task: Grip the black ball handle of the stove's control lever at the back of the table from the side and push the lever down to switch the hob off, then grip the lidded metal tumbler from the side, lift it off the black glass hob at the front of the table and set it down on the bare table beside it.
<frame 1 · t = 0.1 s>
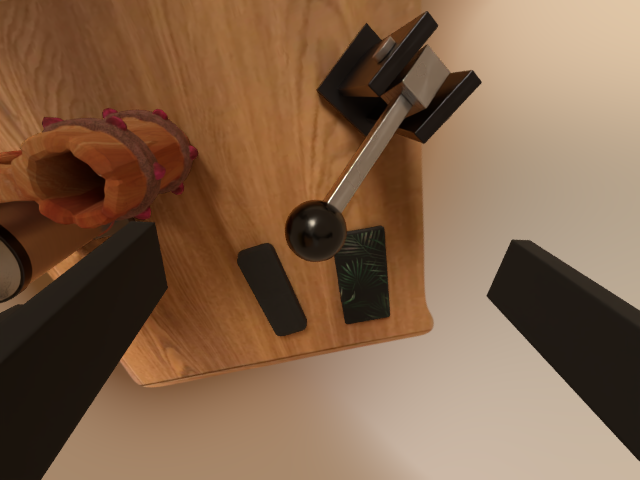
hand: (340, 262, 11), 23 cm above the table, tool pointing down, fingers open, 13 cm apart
mug: (137, 148, 30), on the table
remote control: (275, 289, 40), on the table
lever: (364, 158, 17), point 15 cm above the table, hinge at 25.0°
smartphone: (361, 275, 40), on the table
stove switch: (367, 88, 29), on the table
lidded metal tumbler: (74, 203, 31), point 1 cm above the table, touching hob
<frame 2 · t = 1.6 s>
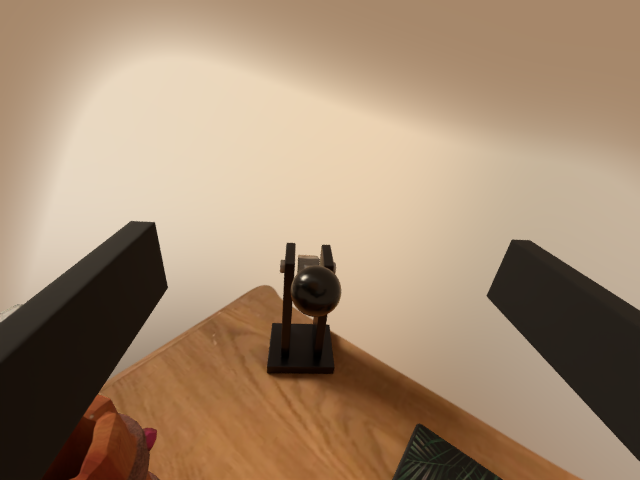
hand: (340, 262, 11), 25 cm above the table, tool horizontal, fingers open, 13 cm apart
lever: (311, 277, 25), point 15 cm above the table, hinge at 25.0°
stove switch: (300, 350, 37), on the table
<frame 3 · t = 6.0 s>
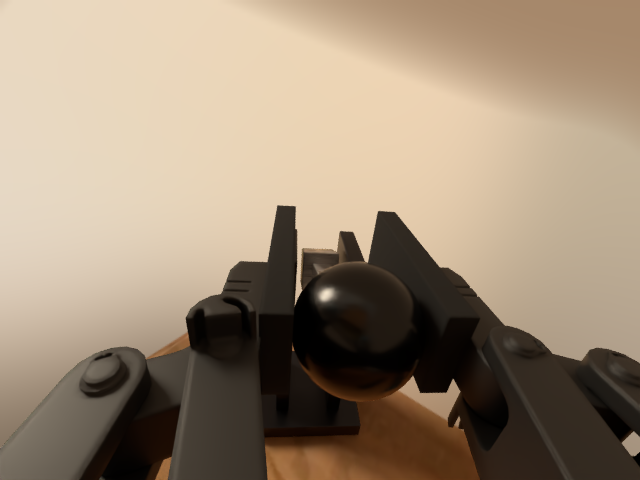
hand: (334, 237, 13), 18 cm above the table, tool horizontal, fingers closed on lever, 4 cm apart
lever: (330, 286, 13), point 15 cm above the table, hinge at 25.0°, touching gripper
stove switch: (305, 393, 25), on the table
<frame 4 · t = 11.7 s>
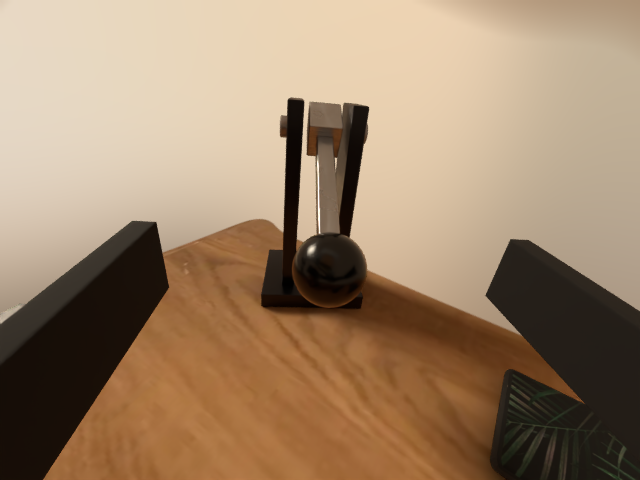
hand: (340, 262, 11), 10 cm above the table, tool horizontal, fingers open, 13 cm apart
lever: (326, 189, 17), point 10 cm above the table, hinge at -28.4°
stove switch: (310, 281, 26), on the table
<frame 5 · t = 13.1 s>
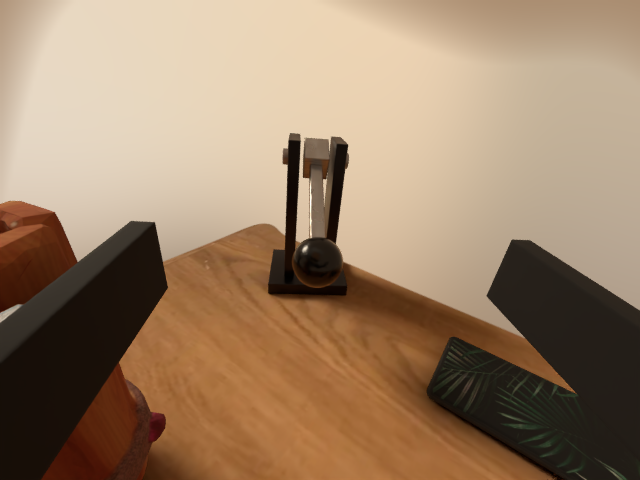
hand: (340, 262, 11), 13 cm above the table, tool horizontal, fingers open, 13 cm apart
lever: (316, 205, 23), point 10 cm above the table, hinge at -28.4°
smartphone: (551, 431, 19), on the table
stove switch: (306, 274, 32), on the table
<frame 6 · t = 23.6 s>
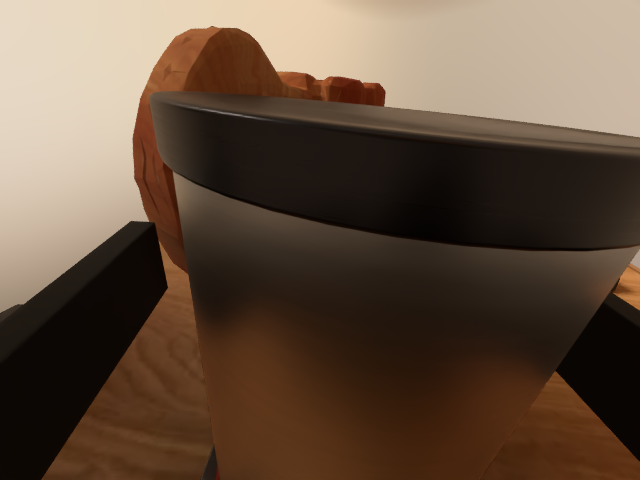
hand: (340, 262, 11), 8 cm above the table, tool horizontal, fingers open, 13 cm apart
mug: (286, 315, 19), on the table, touching gripper
hob: (327, 464, 12), on the table
lidded metal tumbler: (329, 447, 11), point 1 cm above the table, touching hob
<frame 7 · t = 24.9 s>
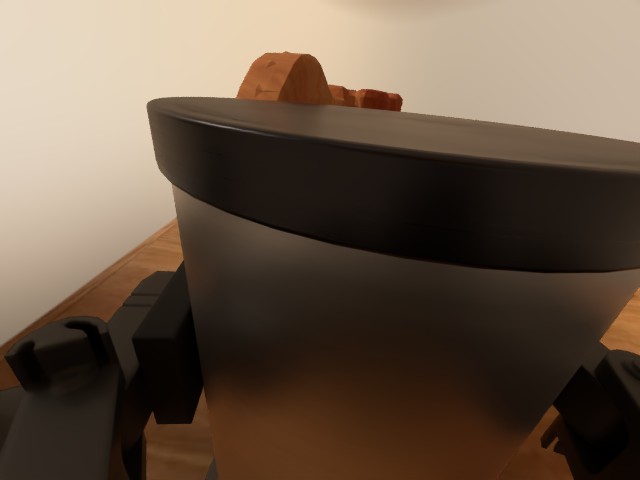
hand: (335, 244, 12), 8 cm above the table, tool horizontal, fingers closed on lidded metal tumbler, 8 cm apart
mug: (312, 301, 21), on the table, touching gripper
lidded metal tumbler: (331, 454, 11), point 1 cm above the table, touching gripper
when the fingers open (7 cm above the table, at t = 34.3 s): lidded metal tumbler stays where it is, on the table.
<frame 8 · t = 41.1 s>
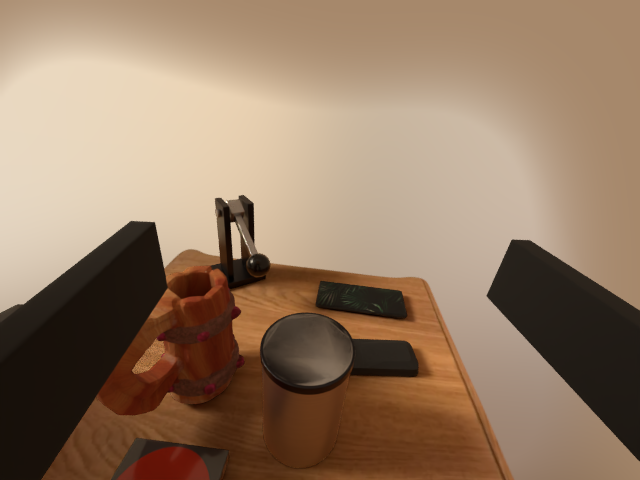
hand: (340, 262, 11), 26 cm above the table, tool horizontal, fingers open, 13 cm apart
mug: (188, 396, 32), on the table
remote control: (360, 360, 39), on the table
lever: (246, 237, 45), point 10 cm above the table, hinge at -28.4°
smartphone: (359, 302, 49), on the table
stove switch: (238, 274, 53), on the table
lidded metal tumbler: (300, 424, 30), on the table
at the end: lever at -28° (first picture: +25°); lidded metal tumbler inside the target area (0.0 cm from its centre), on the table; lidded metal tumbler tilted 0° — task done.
